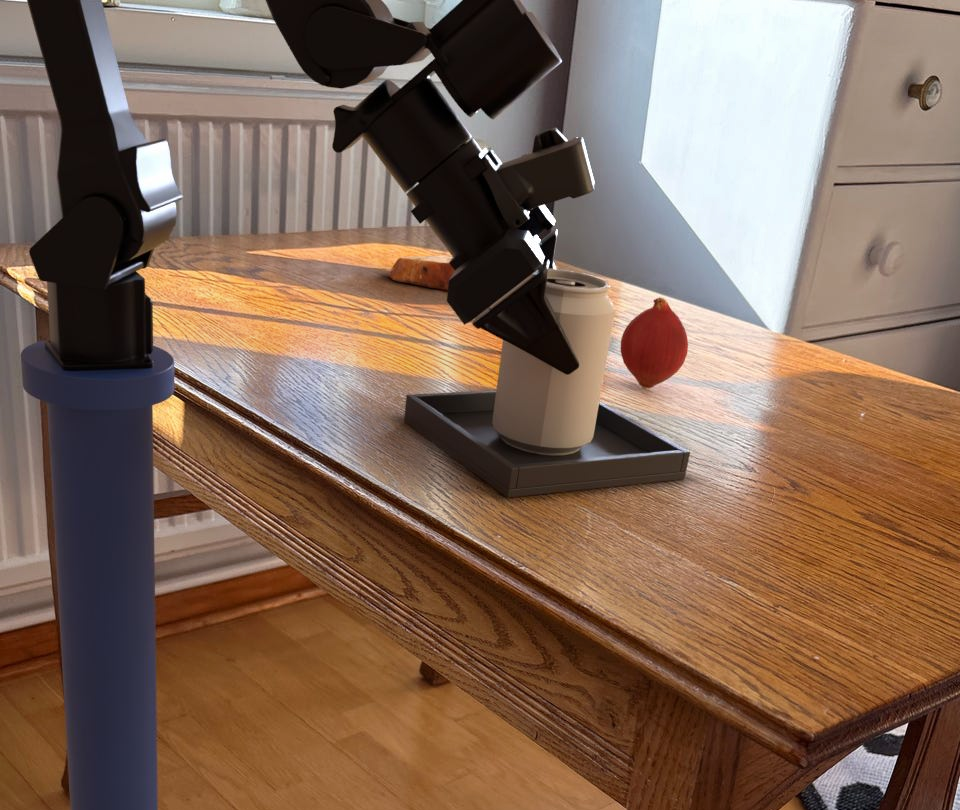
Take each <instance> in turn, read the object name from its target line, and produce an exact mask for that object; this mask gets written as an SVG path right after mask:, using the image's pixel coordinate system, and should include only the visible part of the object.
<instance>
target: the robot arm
mask: <svg viewBox="0 0 960 810" xmlns="http://www.w3.org/2000/svg"><path fill="white" fill-rule="evenodd" d="M26 2H27V7H28V10H29V13H30V17H31V21H32V24H33V28H34V31H35V34H36V38H37V43H38V46H39V48H40V53H41V56H42V60H43V63H44V67H45V71H46V74H47V79H48V82H49V86H50V89H51V93H52V96H53V100H54V104H55V107H56V111H57V116H58V118H59V125H60V137H59V138H60V140H59V147H58V148H59V149H58V160H57V169H56V180H57V187H58V196H59V203H60V211H61V219H59V220H58V222H56V223H55V224H54V225H53V226H52V227H51V228H50V229H49V230H48V231H47V232H46V233H45V234H44V235H43V236H42V237H40V238H39V239H38V240H37V241H36V242H35V243H34V244H33V245H32V246H31V247H30V248H29V250H28V254H29V257H30V259H31V262H32V264H33V267H34V269H35V272H36V275H37V277H38V279H39V280H40V281H42V282H46V288H47V289H46V291H47V306H48V307H47V308H48V325H49V326H48V328H49V339H50V340H49V339H44V340H45V348H46V349H47V350H48V352H49V353H50V354H51V355H52V357H53V358H54V359H55V360H56V362H57V363H58V364H59V366H60V367H61V368H62V369H63V370H65V371H88V370H116V369H144V368H153V360H152V359H151V358H150V357H149V356H148V355H147V354H151V353H152V352H153V346H154V313H153V312H154V311H153V310H154V309H153V307H154V306H153V305H154V304H153V301H154V300H152V298H151V297H149V295H148V294H146V279H145V278H144V277H143V276H142V275H141V274H140V273H139V272H138V271H140V270H144V269H146V268H148V267H149V265H150V263H151V259H152V257H153V253H154V251H155V249H156V248H158V247H159V246H161V245H162V244H163V243H164V242H166V241H167V240H168V238H169V237H170V235H171V234H172V232H173V230H174V228H175V227H176V226H177V225H176V224H177V217H178V215H177V214H178V213H177V204H176V202H178V201H181V200H183V198H184V195H183V194H182V193H181V190H180V189H179V188H178V185H177V184H176V181H175V179H174V175H173V171H172V169H173V168H172V161H171V160H172V159H171V150H170V147H169V143H168V141H167V139H166V138H161V139H157V140H153V141H148V140H147V139H146V137H145V135H144V133H143V132H142V131H141V129H140V128H139V126H138V124H137V123H136V122H135V120H134V118H133V116H132V114H131V111H130V108H129V104H128V99H127V97H126V92H125V88H124V84H123V80H122V76H121V71H120V69H119V64H118V60H117V56H116V52H115V48H114V44H113V40H112V36H111V32H110V28H109V25H108V21H107V16H106V12H105V8H104V3H103V0H26ZM265 2H266V5H267V7H268V10H269V12H270V15H271V17H272V19H273V21H274V24H275V25H276V27H277V29H278V30H279V32H280V34H281V35H282V38H283V39H284V41H285V43H286V44H287V46H288V48H289V50H290V51H291V53H292V55H293V57H294V59H295V61H296V62H297V64H298V65H299V67H300V68H301V70H302V71H303V73H304V74H306V75H307V76H308V77H309V78H310V79H311V80H312V81H313V82H315V83H317V84H318V85H320V86H322V87H327V88H334V89H340V90H341V89H342V90H343V89H346V88H350V87H354V86H359V85H362V84H367V83H371V82H373V81H374V80H376V79H377V78H379V77H380V76H382V75H383V74H384V73H385V71H386V70H387V69H388V67H393V66H395V67H396V66H404V65H409V64H413V63H418V62H422V61H424V60H425V59H426V58H428V56H430V55H432V56H433V58H434V59H433V60H431V61H430V62H429V63H428V64H427V65H425V67H423V68H422V69H421V70H420V71H419V72H418V73H417V74H415V75H414V76H413V77H412V78H411V79H409V81H407V82H406V83H405V84H404V85H402V87H401V88H400V87H399V86H398V85H397V84H396V83H394V82H393V81H392V80H390V79H385V80H383V81H382V82H381V84H379V85H378V86H376V88H375V89H373V90H372V91H371V92H370V93H369V94H368V95H367V96H366V97H364V98H363V99H362V100H361V101H360V102H359V103H357V105H356V106H351V105H350V106H349V105H346V104H341V105H338V106H335V107H334V108H333V111H332V112H333V117H334V131H333V139H332V140H333V141H332V146H331V147H332V150H333V152H335V153H337V154H341V153H342V152H344V151H347V150H348V149H350V148H352V147H353V146H355V144H357V143H358V142H359V141H360V140H361V139H362V138H363V139H364V140H365V142H366V143H367V144H368V146H369V147H370V148H371V150H372V151H373V152H374V154H375V155H376V156H377V157H378V159H379V160H380V162H381V163H382V164H383V166H384V167H385V169H387V171H388V172H389V173H390V175H391V176H392V177H393V179H394V181H395V182H396V183H397V185H399V187H400V188H401V190H402V191H403V192H404V193H405V194H406V196H407V198H408V199H409V200H410V202H411V203H412V204H413V206H414V207H413V208H412V209H411V210H410V213H411V214H412V215H413V217H414V218H415V219H416V221H417V222H418V224H419V225H421V224H422V223H423V222H424V221H425V222H426V223H427V224H428V226H429V227H430V228H431V230H432V231H433V233H434V234H435V235H436V237H437V238H438V239H439V241H440V242H441V243H442V244H443V246H444V247H445V248H446V250H447V251H448V253H449V254H450V256H453V257H452V259H451V260H450V262H449V263H450V265H451V266H452V267H453V269H454V270H455V271H454V273H453V275H452V276H451V278H450V279H449V283H448V290H447V294H446V302H447V304H448V305H449V307H450V308H451V309H452V311H453V312H454V314H455V315H456V316H457V317H458V319H459V320H460V321H461V322H462V324H463V325H464V326H465V325H466V324H468V323H470V322H471V325H472V326H473V327H474V328H476V329H477V330H479V329H481V330H483V331H485V332H487V333H489V334H490V335H493V336H495V337H496V338H499V339H501V340H502V341H503V340H504V341H506V342H508V343H510V344H512V345H514V346H516V347H518V348H519V349H521V350H523V351H525V352H527V353H529V354H530V355H532V356H534V357H536V358H537V359H539V360H541V361H543V362H545V363H546V364H548V365H550V366H552V367H553V368H555V369H557V370H559V371H561V372H562V373H564V374H566V375H569V374H571V373H572V372H574V371H575V370H576V369H578V368H579V361H578V359H577V357H576V355H575V353H574V351H573V349H572V347H571V344H570V342H569V340H568V338H567V336H566V334H565V332H564V330H563V328H562V326H561V324H560V322H559V321H558V319H557V317H556V315H555V313H554V311H553V309H552V307H551V305H550V303H549V301H548V299H547V296H546V284H547V277H548V271H549V268H551V269H556V268H555V265H556V264H555V252H556V246H557V240H558V233H559V232H558V228H555V229H554V230H552V231H551V232H549V233H548V234H546V236H544V237H543V238H542V239H540V238H539V236H538V235H539V234H540V233H541V232H543V231H544V230H546V231H550V230H551V229H552V228H553V227H554V226H555V223H556V219H555V217H554V216H553V215H552V213H551V212H550V210H549V209H548V208H547V206H546V205H548V204H551V203H554V202H558V201H560V200H564V199H566V198H567V199H568V198H571V199H577V198H580V197H583V196H586V195H588V194H590V193H592V192H594V190H595V185H596V183H595V178H594V175H593V172H592V167H591V163H590V160H589V155H588V152H587V148H586V144H585V140H584V137H583V136H580V137H579V136H576V137H572V138H571V139H569V140H568V139H567V138H566V137H565V135H564V134H563V133H562V132H561V131H560V130H559V129H558V128H557V127H556V126H555V127H553V128H549V129H546V130H543V131H541V132H538V133H536V134H535V136H534V139H533V145H532V150H531V152H530V153H528V154H527V153H525V154H522V155H521V156H519V157H517V158H514V159H511V160H507V161H505V162H502V161H501V159H500V158H499V157H498V155H497V154H496V153H495V151H494V150H493V149H492V148H490V149H489V150H488V149H487V147H484V148H483V149H482V148H481V147H480V145H479V144H478V142H476V140H475V139H474V137H472V134H471V133H470V131H469V130H468V129H467V127H466V126H465V124H464V123H463V122H462V120H461V118H459V116H458V115H457V113H456V112H455V110H454V109H453V108H452V106H451V105H450V104H449V102H448V101H447V99H446V98H445V96H444V95H443V94H442V92H441V91H440V89H439V88H438V87H437V86H436V84H435V82H434V81H433V79H432V78H431V77H433V76H434V75H435V74H436V76H437V78H438V79H439V80H440V82H441V83H442V85H443V87H444V88H445V90H446V91H447V92H448V94H449V96H450V97H451V99H452V100H453V101H454V102H455V103H456V105H457V106H458V107H459V108H460V110H461V111H462V112H463V113H464V114H465V115H466V116H467V117H469V118H472V117H473V116H474V115H476V114H477V113H478V111H479V110H481V111H482V112H483V113H484V114H485V115H486V116H487V117H488V118H489V119H491V120H495V119H496V118H497V117H499V116H500V115H501V114H502V113H503V112H504V111H506V110H507V109H508V108H509V107H510V106H511V105H512V104H514V103H515V102H516V101H517V100H519V99H520V98H521V97H522V96H523V95H525V94H526V93H528V91H529V90H530V89H532V88H533V87H535V85H537V84H538V83H539V82H540V81H541V80H542V79H543V78H545V77H546V76H547V75H548V74H549V73H551V72H552V71H553V70H554V69H556V67H558V66H559V65H560V64H561V63H563V60H562V58H561V56H560V54H559V52H558V50H557V48H556V47H555V45H554V44H553V42H552V41H551V39H550V37H549V36H548V34H547V32H546V31H545V29H544V28H543V26H542V25H541V24H540V22H539V20H538V18H537V17H536V15H535V14H534V13H533V11H528V10H527V8H526V7H525V6H524V4H523V3H522V2H521V0H461V1H459V3H458V4H456V5H455V6H454V7H452V9H451V10H450V11H448V12H447V13H446V14H445V15H444V16H443V17H441V19H440V20H438V22H437V23H435V24H434V25H433V26H431V28H430V27H427V26H426V24H425V23H424V21H407V20H403V19H400V18H397V17H394V16H393V15H392V13H391V10H390V8H389V6H388V5H387V4H386V3H385V2H384V1H383V0H265ZM410 189H411V190H410ZM554 264H555V265H554Z"/></svg>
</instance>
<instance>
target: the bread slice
mask: <svg viewBox="0 0 960 810" xmlns="http://www.w3.org/2000/svg"><path fill="white" fill-rule="evenodd" d="M452 257H453V256H452V255H450V256H449V255H424V256H421V255H420V256H418V255H414V256H413V255H412V256H410V255H409V256H403V257H399V258H397V259H396V261H395V263H394V264H393V265H392V267H391V269H390V271H389V274H388V275H389V277H390V279H391V280H393V281H395V282H398V283H401V284H402V283H403V284H410V285H416V286H420V287H426V288H429V289H438V290H443V291H448V283H449V279H450V278H451V276H452V275H453V273H454V271H455V270H454V269H453V267H452V266H451V265H450V263H449V262H450V260H451V259H452ZM554 265H555V268H556V269H561V270H563V269H562V268H561V267H559V266H558V265H556V263H554Z"/></svg>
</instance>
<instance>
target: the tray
mask: <svg viewBox="0 0 960 810" xmlns="http://www.w3.org/2000/svg"><path fill="white" fill-rule="evenodd" d="M495 397H496V389H494V390H493V389H492V390H491V389H489V390H488V389H487V390H473V391H469V390H468V391H455V392H454V391H453V392H452V391H451V392H450V391H449V392H433V393H432V392H431V393H414V394H406V395H405V406H404V417H403V422H404V423H406V424H407V425H408V426H410V427H411V428H412V429H413V430H415V431H416V432H418V433H419V434H420V435H422V436H423V437H425V438H426V439H427V440H428V441H430V442H432V443H433V444H434V445H435V446H436V447H438V448H439V449H440V450H442V451H444V452H445V453H446V454H447V455H449V456H450V457H452V459H454V460H455V461H456V462H458V463H459V464H461V465H462V466H463V467H465V468H466V469H467V470H469V471H470V472H472V473H473V474H475V475H476V476H477V477H478V478H480V479H481V480H482V481H484V482H485V483H486V484H487V485H489V486H490V487H492V488H493V489H494V490H496V491H497V492H498V493H500V494H501V495H503V496H504V497H505V498H507V499H509V498H518V497H527V496H528V497H529V496H537V495H546V494H556V493H557V494H558V493H564V492H566V493H567V492H574V491H575V492H576V491H584V490H585V491H586V490H595V489H603V488H613V487H614V488H615V487H623V486H632V485H633V486H634V485H640V484H641V485H642V484H649V483H659V482H661V483H662V482H669V481H680V480H685V478H686V474H687V469H688V465H689V462H690V461H689V460H690V456H691V451H689V450H688V449H686V448H684V447H683V446H680V445H678V444H677V443H675V442H673V441H671V440H670V439H668V438H666V437H664V436H662V435H661V434H659V433H658V432H655V431H654V430H652V429H650V428H648V427H647V426H645V425H643V424H641V423H639V422H638V421H636V420H635V419H633V418H631V417H630V416H628V415H625V414H623V413H622V412H620V411H618V410H616V409H614V408H613V407H611V406H609V405H607V404H606V403H604V402H602V401H601V400H600V401H599V407H598V412H597V418H596V424H595V430H594V435H593V438H592V440H591V442H590V443H588V444H586V445H585V446H583V447H581V448H580V449H579V451H577V452H575V453H573V454H567V455H553V456H551V455H541V454H535V453H530V452H526V451H522V450H519V449H516V448H514V447H512V446H510V445H508V444H507V443H505V442H504V441H503V440H502V437H501V436H500V434H499V433H498V432H497V431H496V430H495V429H494V428H493V424H492V420H493V412H494V405H495Z"/></svg>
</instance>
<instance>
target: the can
mask: <svg viewBox="0 0 960 810" xmlns="http://www.w3.org/2000/svg"><path fill="white" fill-rule="evenodd" d="M561 269H562V268H561ZM561 269H551V268H549V271H548V277H547V284H546V296H547V299H548V301H549V303H550V305H551V307H552V309H553V311H554V313H555V315H556V317H557V319H558V321H559V322H560V324H561V326H562V328H563V330H564V332H565V334H566V336H567V338H568V340H569V342H570V344H571V347H572V349H573V351H574V353H575V355H576V357H577V359H578V361H579V368H578V369H576V370H575V371H574V372H572V373H571V374H569V375H566V374H564V373H562V372H561V371H559V370H557V369H555V368H553V367H552V366H550V365H548V364H546V363H545V362H543V361H541V360H539V359H537V358H536V357H534V356H532V355H530V354H529V353H527V352H525V351H523V350H521V349H519V348H518V347H516V346H514V345H512V344H510V343H508V342H506V341H504V340H503V339H502V345H501V352H500V360H499V369H498V375H497V383H496V389H495V390H496V397H495V405H494V412H493V420H492V424H493V428H494V429H495V430H496V431H497V432H498V433H499V434H500V436H501V437H502V440H503V441H504V442H505V443H507V444H508V445H510V446H512V447H514V448H516V449H519V450H522V451H526V452H530V453H535V454H541V455H551V456H553V455H567V454H573V453H575V452H577V451H579V449H580V448H581V447H583V446H585V445H586V444H588V443H590V442H591V440H592V438H593V435H594V430H595V424H596V418H597V412H598V407H599V401H600V402H601V395H602V388H603V383H604V377H605V372H606V366H607V360H608V355H609V350H610V343H611V337H612V331H613V326H614V320H615V315H616V309H617V308H616V307H615V305H614V303H613V302H612V300H611V299H610V296H609V295H608V291H609V290H610V289H611V285H610V283H609V282H608V281H607V280H605V279H603V278H601V277H597V276H596V275H592V274H589V273H584V272H580V271H574V270H568V269H562V270H561Z"/></svg>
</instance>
